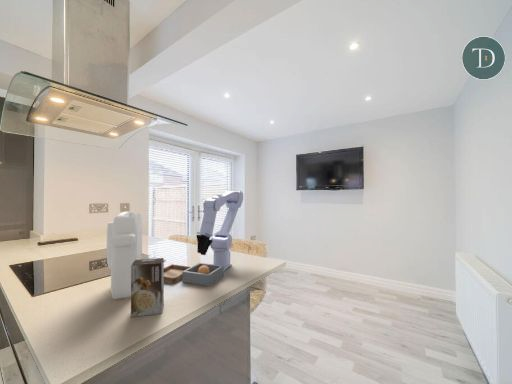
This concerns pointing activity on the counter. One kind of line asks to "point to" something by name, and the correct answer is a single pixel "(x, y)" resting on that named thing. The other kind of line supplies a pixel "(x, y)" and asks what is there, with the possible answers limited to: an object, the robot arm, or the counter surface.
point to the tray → (173, 273)
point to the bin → (200, 278)
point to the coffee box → (147, 287)
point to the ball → (203, 269)
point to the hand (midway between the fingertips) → (201, 254)
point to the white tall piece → (123, 251)
